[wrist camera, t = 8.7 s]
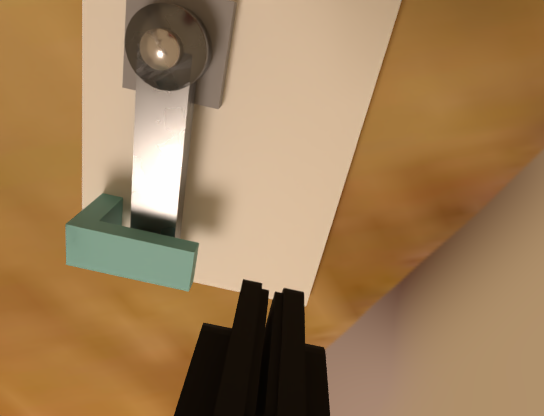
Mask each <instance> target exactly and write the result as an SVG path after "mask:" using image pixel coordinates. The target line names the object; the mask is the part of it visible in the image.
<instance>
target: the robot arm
mask: <svg viewBox="0 0 544 416" xmlns="http://www.w3.org/2000/svg"><path fill="white" fill-rule="evenodd" d="M268 297H269V290H266V289H262V283H259V282H254V281H250V280H245V279H243V281H242V286H241V290H240V295H239V300H238V304H237V309H236V313H235V318H234V323H233V327H232V328H227V327H222V326H217V325H212V324H207V323H203V325H202V328H201V331H200V334H199V338H198V341H197V344H196V347H195V350H194V353H193V357H192V360H191V363H190V366H189V369H188V373H187V376H186V379H185V382H184V385H183V388H182V392H181V395H180V398H179V401H178V404H177V407H176V411H175V414H174V416H330V410H329V409H330V408H329V394H328V381H327V367H326V355H325V349H324V347H319V346H315V345H310V344H305V312H304V292H302V291H297V290H293V289H288V288H283V291H282V293H280V292H276V291H275V293H274V297H273V300H272V304H271V308H270V312H269V315H268V319H267V323H266V315H267V306H268ZM265 324H266V327H265Z"/></svg>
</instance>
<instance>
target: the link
mask: <svg viewBox="0 0 544 416" xmlns="http://www.w3.org/2000/svg"><path fill="white" fill-rule="evenodd" d="M125 50H126V54H127V58H128V60H129V63H130V65H131V67H132V68H133V70H134V71H135V73H136V95H135V120H134V145H133V170H132V195H131V220H130V228H134V229H139V230H143V231H148V232H152V233H157V234H161V235H166V236H170V237H175V238H179V239H180V236H181V227H182V217H183V207H184V198H185V188H186V179H187V169H188V159H189V150H190V140H191V130H192V121H193V111H194V101H195V92H196V82H197V80H199V79H200V78H201V77H202V76H203V75H204V73H205V72H206V70H207V68H208V66H209V64H210V61H211V55H212V45H211V39H210V36H209V33H208V31H207V28H206V27H205V25H204V23H203V22H202V21H201V19H200V18H199V17H198V16H197V15H196V14H195V13H193V12H192V11H191V10H189V9H187V8H185V7H183V6H180V5H175V4H168V3H153V4H150V5H147V6H145V7H143V8H141V9H140V10H139V11H137V12H136V13H135V14H134V16H133V17H132V18H131V20H130V22H129V24H128V26H127V29H126V33H125Z"/></svg>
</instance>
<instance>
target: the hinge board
mask: <svg viewBox="0 0 544 416" xmlns="http://www.w3.org/2000/svg"><path fill="white" fill-rule="evenodd" d="M401 1H402V0H82V211H81V212H80V213H78V214H77V215H76V216H75V217H74V218H72V219H71V220H70V221H69V222H68V223H67V224H66V265H70V266H74V267H79V268H84V269H88V270H93V271H97V272H102V273H107V274H111V275H116V276H120V277H125V278H129V279H134V280H139V281H143V282H148V283H152V284H157V285H162V286H166V287H171V288H175V289H180V290H184V291H189V290H190V288H191V285H192V283H193V282H196V283H201V284H205V285H210V286H214V287H219V288H223V289H228V290H233V291H237V292H240V290H241V286H242V281H243V279H245V280H250V281H254V282H259V283H262V289H266V290H269V297H268V298H269V299H273V297H274V293H275V291H276V292H280V293H282V291H283V288H288V289H293V290H297V291H302V292H304V306H306V305H307V302H308V299H309V295H310V292H311V289H312V286H313V283H314V279H315V276H316V273H317V270H318V267H319V263H320V260H321V257H322V254H323V251H324V247H325V244H326V241H327V238H328V235H329V231H330V228H331V225H332V222H333V218H334V215H335V212H336V209H337V206H338V202H339V199H340V196H341V193H342V190H343V186H344V183H345V180H346V177H347V174H348V170H349V167H350V164H351V161H352V158H353V154H354V151H355V148H356V145H357V142H358V138H359V135H360V132H361V129H362V126H363V122H364V119H365V116H366V113H367V110H368V106H369V103H370V100H371V97H372V94H373V90H374V87H375V84H376V81H377V78H378V74H379V71H380V68H381V65H382V62H383V58H384V55H385V52H386V49H387V46H388V42H389V39H390V36H391V33H392V30H393V26H394V23H395V20H396V17H397V14H398V10H399V7H400V4H401ZM153 3H168V4H175V5H180V6H183V7H185V8H187V9H189V10H191V11H192V12H193V13H195V14H196V15H197V16H198V17H199V18H200V19H201V21H202V22H203V23H204V25H205V27H206V28H207V31H208V33H209V36H210V39H211V45H212V55H211V61H210V64H209V66H208V68H207V70H206V72H205V73H204V75H203V76H202V77H201V78H200V79H199V80H197V82H196V92H195V101H194V111H193V121H192V130H191V140H190V150H189V159H188V169H187V179H186V188H185V198H184V207H183V217H182V227H181V236H180V239H179V238H175V237H170V236H166V235H161V234H157V233H152V232H148V231H143V230H139V229H134V228H130V220H131V195H132V170H133V145H134V120H135V95H136V73H135V71H134V70H133V68H132V67H131V65H130V63H129V60H128V58H127V54H126V50H125V33H126V29H127V26H128V24H129V22H130V20H131V18H132V17H133V16H134V14H135V13H136V12H137V11H139V10H140V9H141V8H143V7H145V6H147V5H150V4H153Z"/></svg>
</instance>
